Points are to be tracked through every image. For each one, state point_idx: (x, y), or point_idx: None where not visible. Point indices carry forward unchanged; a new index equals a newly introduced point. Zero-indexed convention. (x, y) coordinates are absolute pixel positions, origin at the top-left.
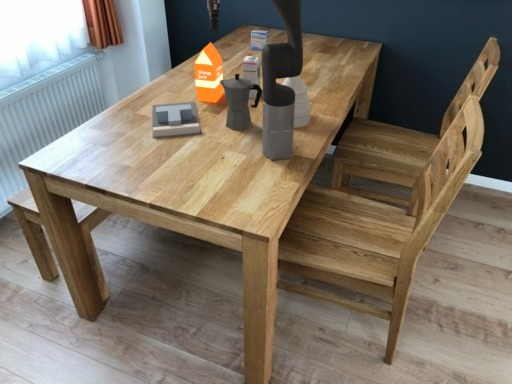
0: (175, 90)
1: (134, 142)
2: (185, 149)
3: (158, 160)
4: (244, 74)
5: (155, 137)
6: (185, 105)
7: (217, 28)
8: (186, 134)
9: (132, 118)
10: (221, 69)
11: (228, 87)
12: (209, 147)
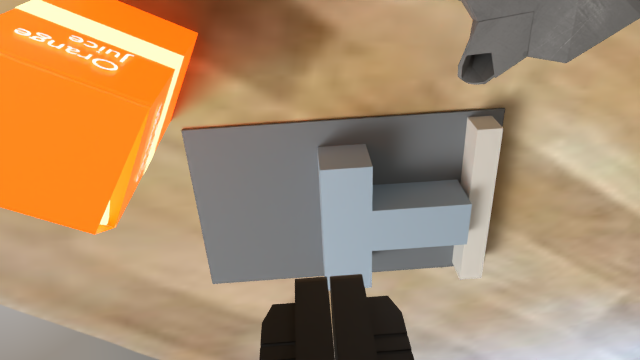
0: None
1: (484, 305)
2: (593, 164)
3: (624, 238)
4: None
5: None
6: (331, 190)
7: (361, 294)
8: None
9: None
10: (16, 20)
11: (617, 31)
12: (617, 81)
